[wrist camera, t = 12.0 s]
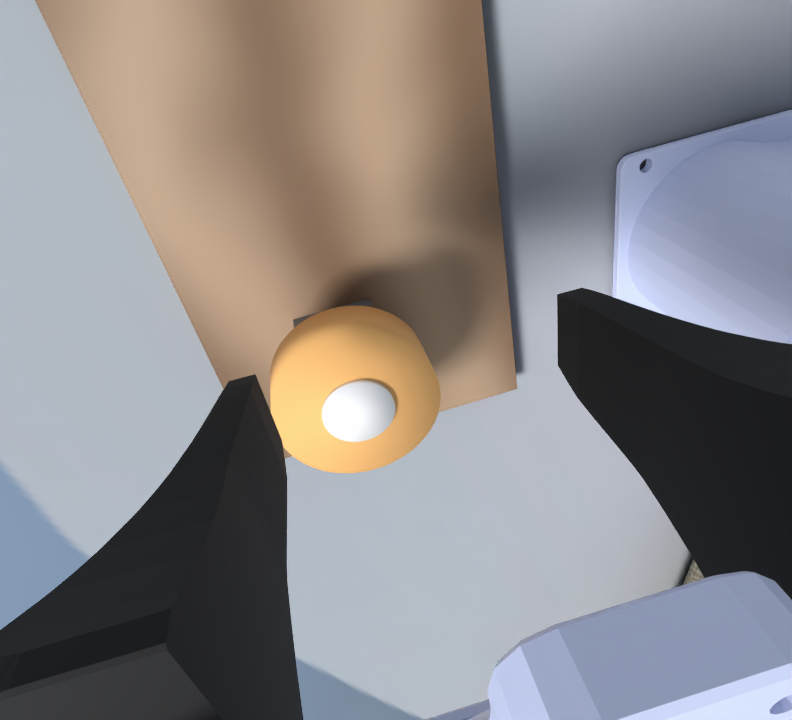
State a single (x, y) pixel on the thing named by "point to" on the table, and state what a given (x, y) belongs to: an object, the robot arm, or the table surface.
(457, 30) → the wooden fixture board
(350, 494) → the table surface
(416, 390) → the wheel
